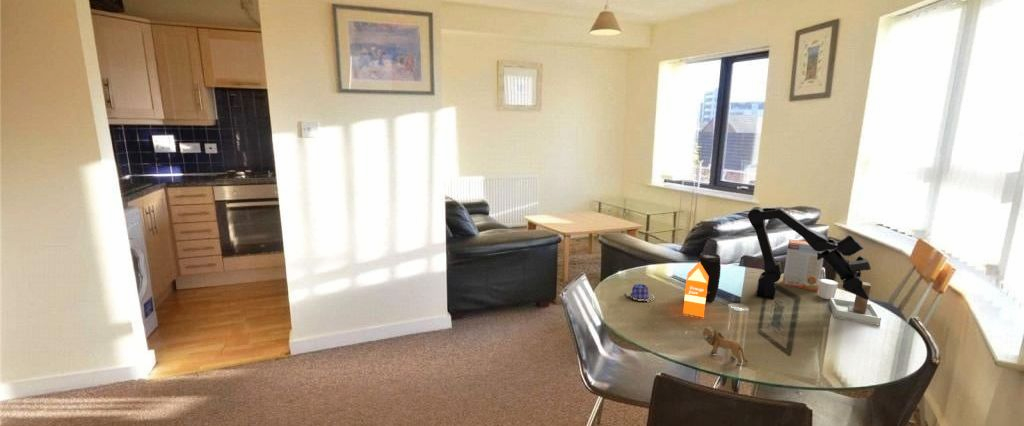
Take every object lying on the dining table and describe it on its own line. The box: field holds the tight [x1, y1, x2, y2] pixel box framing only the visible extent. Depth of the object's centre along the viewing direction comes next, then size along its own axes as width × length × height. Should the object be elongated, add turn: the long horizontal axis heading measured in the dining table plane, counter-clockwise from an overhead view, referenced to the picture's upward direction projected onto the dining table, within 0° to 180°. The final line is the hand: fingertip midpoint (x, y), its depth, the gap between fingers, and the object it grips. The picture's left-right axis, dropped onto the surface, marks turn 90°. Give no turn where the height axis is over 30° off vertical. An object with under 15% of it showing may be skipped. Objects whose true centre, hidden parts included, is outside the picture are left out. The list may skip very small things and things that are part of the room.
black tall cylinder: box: [697, 252, 722, 303], centre depth 191 cm, size 9×9×20 cm
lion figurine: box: [701, 326, 749, 365], centre depth 148 cm, size 15×5×9 cm, turn 55°
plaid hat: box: [631, 283, 655, 302], centre depth 194 cm, size 12×12×5 cm
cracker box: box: [782, 239, 824, 292], centre depth 206 cm, size 14×6×21 cm, turn 58°
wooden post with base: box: [848, 281, 872, 315], centre depth 178 cm, size 6×6×12 cm
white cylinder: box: [817, 278, 839, 300], centre depth 197 cm, size 7×7×7 cm
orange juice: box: [682, 262, 709, 318], centre depth 179 cm, size 8×9×20 cm
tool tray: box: [829, 297, 882, 326], centre depth 181 cm, size 14×14×3 cm
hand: (866, 295), depth 177 cm, fingers open, 9 cm apart
